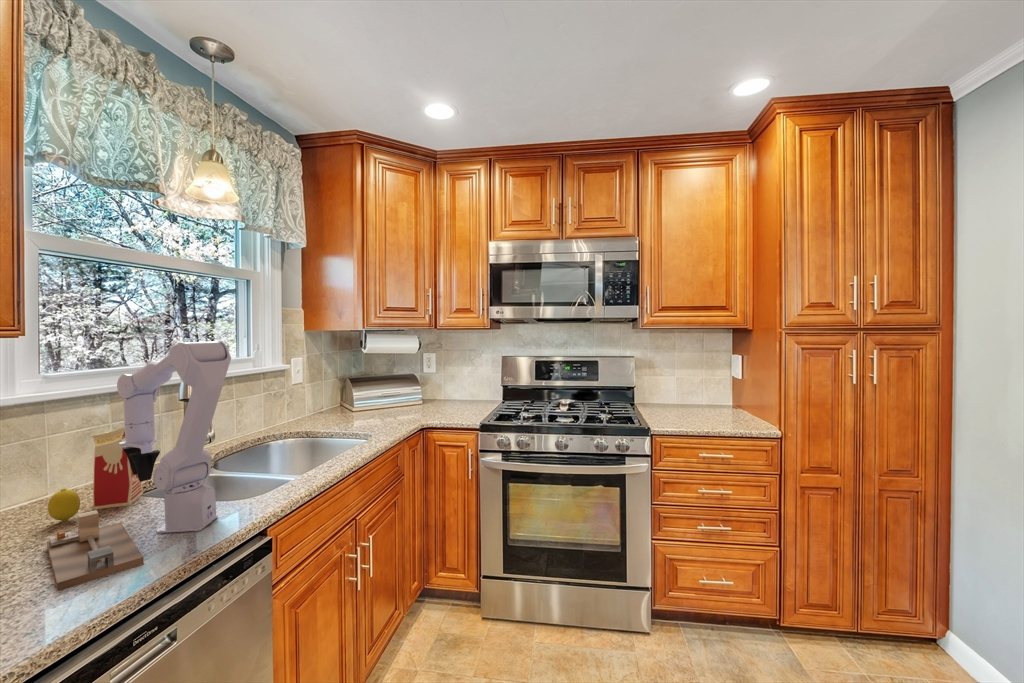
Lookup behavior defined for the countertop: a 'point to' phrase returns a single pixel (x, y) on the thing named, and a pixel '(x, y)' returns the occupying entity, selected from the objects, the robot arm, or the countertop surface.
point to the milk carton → (113, 472)
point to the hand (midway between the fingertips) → (141, 477)
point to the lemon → (64, 505)
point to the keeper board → (78, 557)
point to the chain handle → (83, 530)
